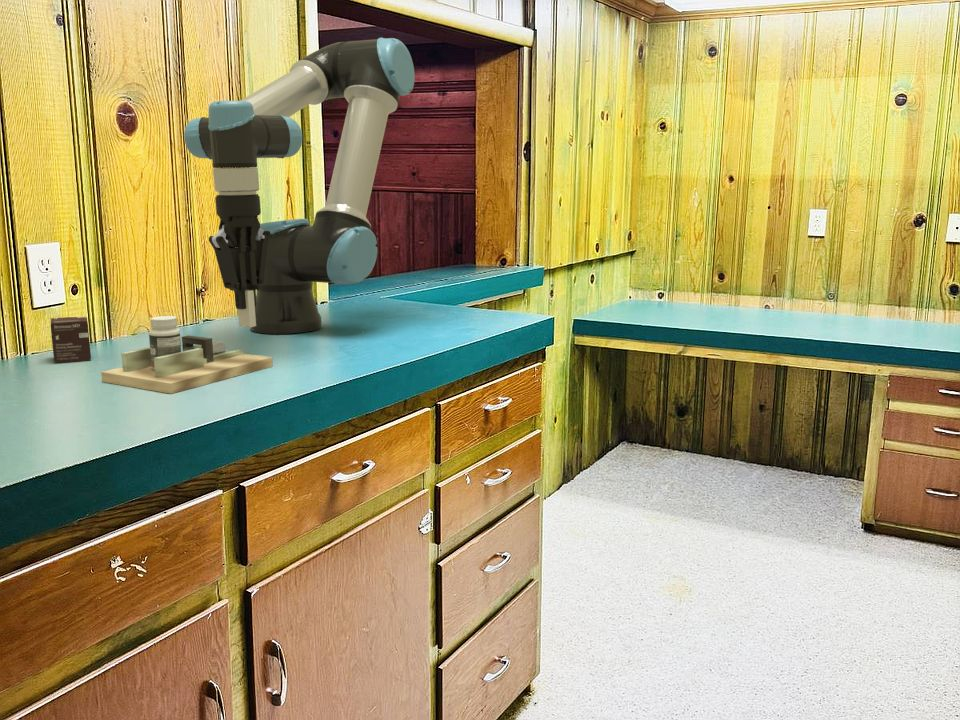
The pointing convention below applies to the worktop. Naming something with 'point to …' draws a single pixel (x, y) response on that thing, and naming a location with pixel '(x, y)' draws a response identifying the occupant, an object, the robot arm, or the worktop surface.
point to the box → (70, 339)
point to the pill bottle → (164, 337)
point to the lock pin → (217, 347)
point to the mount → (183, 367)
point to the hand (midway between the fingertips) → (247, 325)
